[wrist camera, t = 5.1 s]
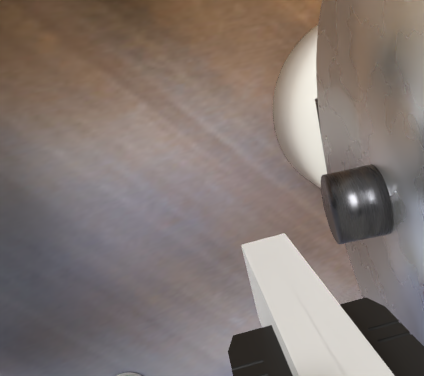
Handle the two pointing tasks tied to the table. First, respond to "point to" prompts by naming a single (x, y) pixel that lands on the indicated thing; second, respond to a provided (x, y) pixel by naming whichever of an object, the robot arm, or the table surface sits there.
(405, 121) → the cooker lid
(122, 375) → the supplement bottle
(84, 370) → the table surface
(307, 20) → the table surface
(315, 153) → the cooker pot
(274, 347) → the robot arm
